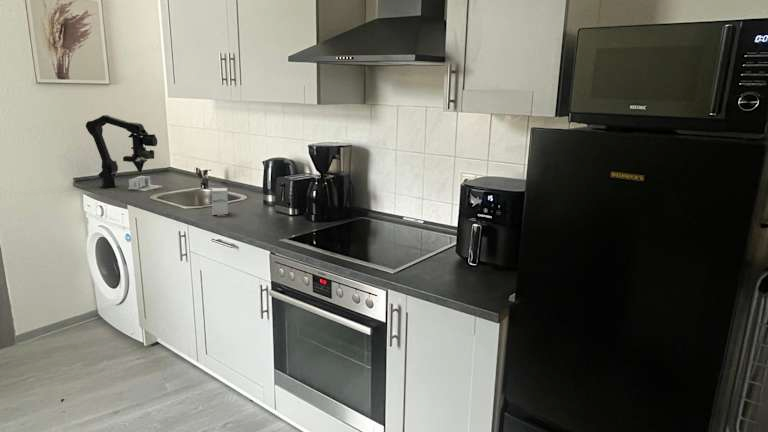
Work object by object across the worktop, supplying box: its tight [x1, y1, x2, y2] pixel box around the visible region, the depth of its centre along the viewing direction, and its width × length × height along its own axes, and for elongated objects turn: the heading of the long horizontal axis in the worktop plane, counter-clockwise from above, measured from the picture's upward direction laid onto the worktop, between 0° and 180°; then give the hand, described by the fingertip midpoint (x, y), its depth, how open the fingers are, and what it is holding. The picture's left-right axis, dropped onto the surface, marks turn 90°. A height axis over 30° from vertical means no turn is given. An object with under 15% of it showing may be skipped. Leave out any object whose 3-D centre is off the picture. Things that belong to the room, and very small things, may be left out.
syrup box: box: [128, 175, 152, 191], centre depth 308 cm, size 6×6×14 cm
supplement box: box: [211, 187, 229, 216], centre depth 254 cm, size 7×7×13 cm
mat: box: [127, 184, 164, 192], centre depth 309 cm, size 12×15×1 cm
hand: (140, 172), depth 304 cm, fingers closed
